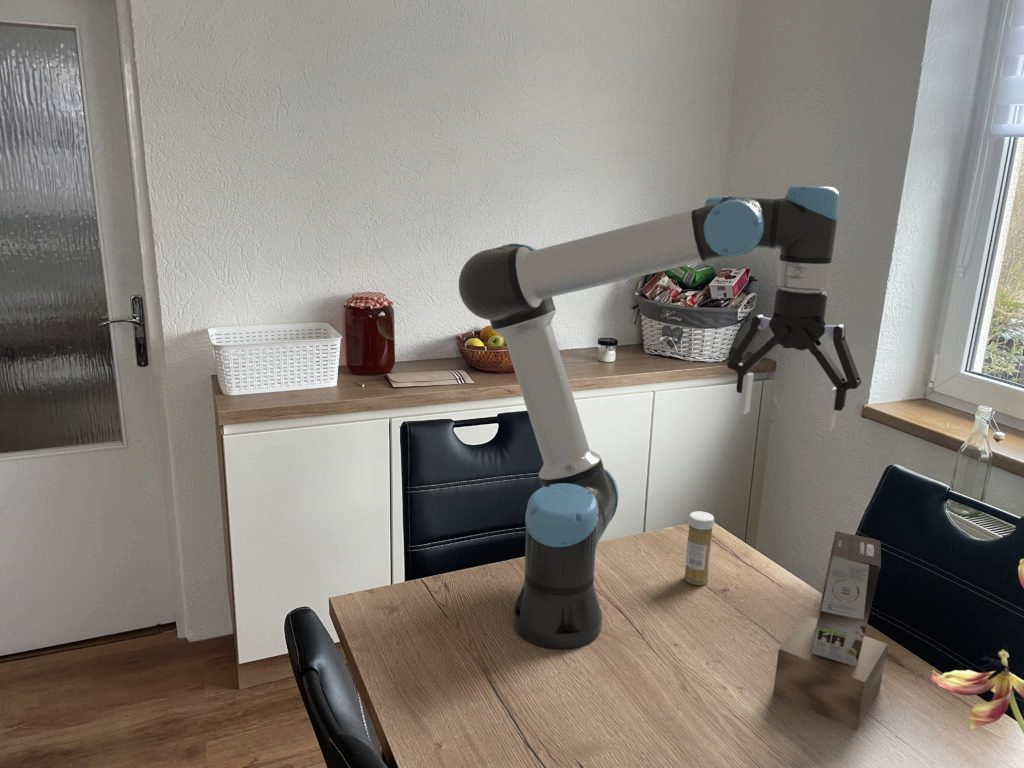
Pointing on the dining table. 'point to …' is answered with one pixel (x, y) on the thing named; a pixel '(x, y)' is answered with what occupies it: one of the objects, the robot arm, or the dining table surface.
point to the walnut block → (828, 677)
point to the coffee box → (847, 597)
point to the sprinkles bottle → (698, 547)
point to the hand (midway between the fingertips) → (785, 420)
